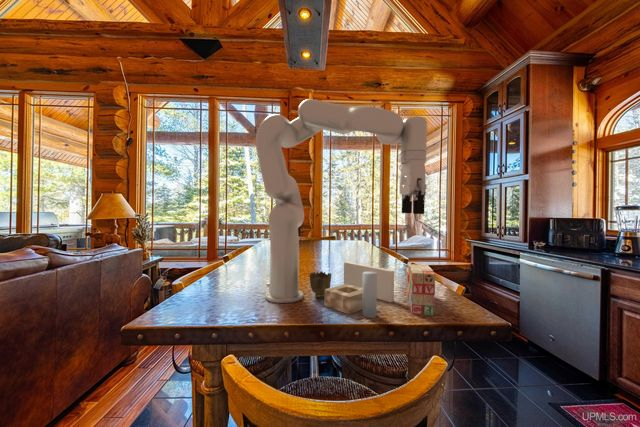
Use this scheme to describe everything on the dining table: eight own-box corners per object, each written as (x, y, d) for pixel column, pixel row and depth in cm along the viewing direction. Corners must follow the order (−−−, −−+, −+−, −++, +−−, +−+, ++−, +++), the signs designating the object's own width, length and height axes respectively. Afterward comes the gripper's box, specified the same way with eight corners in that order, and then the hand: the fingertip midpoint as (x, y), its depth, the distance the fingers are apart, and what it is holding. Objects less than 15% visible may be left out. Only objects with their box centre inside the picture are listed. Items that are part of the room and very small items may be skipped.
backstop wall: (343, 289, 107) (343, 262, 107) (347, 288, 108) (347, 261, 108) (390, 302, 92) (390, 271, 92) (393, 301, 94) (394, 270, 94)
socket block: (324, 305, 89) (324, 289, 89) (345, 298, 96) (345, 283, 95) (349, 314, 81) (349, 297, 81) (370, 306, 88) (370, 290, 88)
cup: (335, 297, 97) (336, 273, 97) (320, 302, 92) (321, 277, 92) (319, 292, 102) (319, 270, 102) (304, 297, 97) (304, 273, 97)
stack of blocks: (405, 293, 103) (405, 258, 103) (423, 294, 102) (424, 259, 102) (411, 314, 82) (412, 271, 82) (434, 316, 81) (435, 273, 81)
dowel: (359, 315, 81) (359, 272, 81) (367, 311, 84) (368, 270, 84) (370, 319, 78) (371, 275, 78) (379, 315, 81) (379, 273, 81)
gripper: (392, 162, 98) (391, 212, 98) (412, 153, 81) (410, 214, 81) (414, 163, 98) (413, 213, 99) (438, 153, 81) (436, 214, 81)
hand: (412, 213), depth 90 cm, fingers open, 9 cm apart
